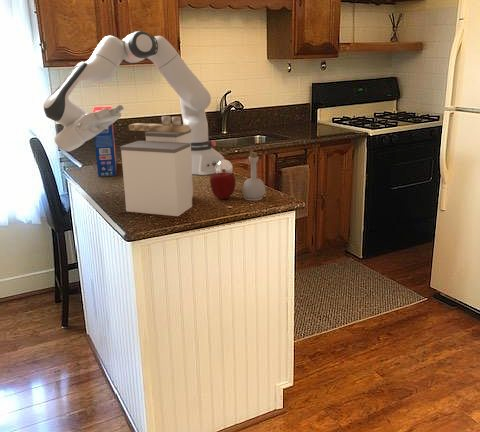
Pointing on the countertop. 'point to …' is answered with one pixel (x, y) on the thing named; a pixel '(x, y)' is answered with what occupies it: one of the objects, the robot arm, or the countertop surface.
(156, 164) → the counter block
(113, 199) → the countertop surface
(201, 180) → the countertop surface
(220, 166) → the light bulb
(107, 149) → the pasta box
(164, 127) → the serving board
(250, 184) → the potion bottle
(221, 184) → the apple
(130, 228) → the countertop surface
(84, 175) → the countertop surface
